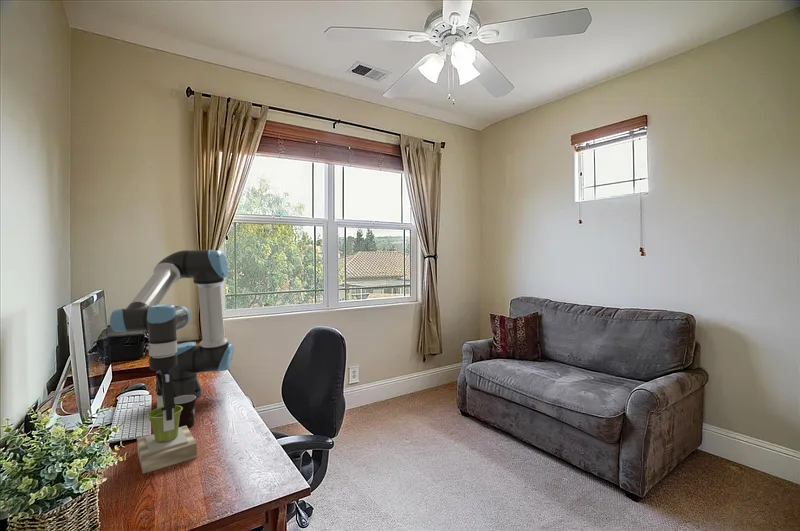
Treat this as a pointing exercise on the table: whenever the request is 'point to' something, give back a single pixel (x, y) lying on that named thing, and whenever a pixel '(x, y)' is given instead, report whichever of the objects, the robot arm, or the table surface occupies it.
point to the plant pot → (158, 426)
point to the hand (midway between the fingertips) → (165, 422)
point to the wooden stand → (166, 450)
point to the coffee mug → (186, 409)
